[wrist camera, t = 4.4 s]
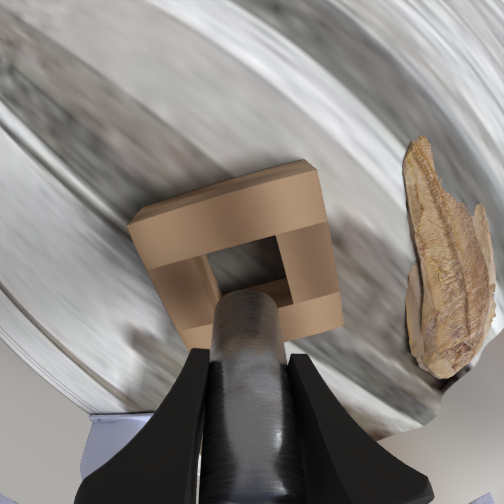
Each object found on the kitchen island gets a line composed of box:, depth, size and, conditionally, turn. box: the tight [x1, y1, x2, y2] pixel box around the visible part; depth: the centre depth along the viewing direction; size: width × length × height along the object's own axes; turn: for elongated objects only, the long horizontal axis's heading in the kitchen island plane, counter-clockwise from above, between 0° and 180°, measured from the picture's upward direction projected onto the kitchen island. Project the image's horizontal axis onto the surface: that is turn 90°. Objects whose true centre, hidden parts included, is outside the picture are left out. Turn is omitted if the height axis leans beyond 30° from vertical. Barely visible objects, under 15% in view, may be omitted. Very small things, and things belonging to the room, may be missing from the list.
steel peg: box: [198, 289, 308, 504], centre depth 10 cm, size 3×3×9 cm
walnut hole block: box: [126, 159, 344, 353], centre depth 18 cm, size 10×10×3 cm
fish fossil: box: [402, 135, 496, 379], centre depth 21 cm, size 26×10×1 cm, turn 31°
